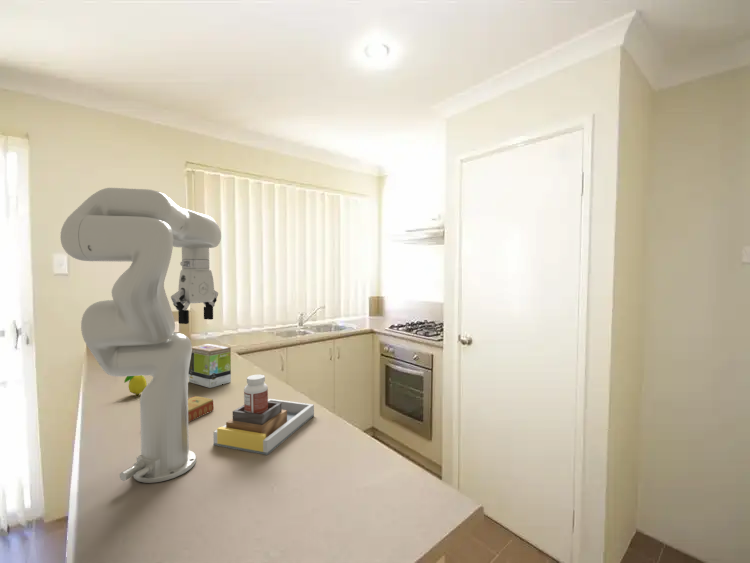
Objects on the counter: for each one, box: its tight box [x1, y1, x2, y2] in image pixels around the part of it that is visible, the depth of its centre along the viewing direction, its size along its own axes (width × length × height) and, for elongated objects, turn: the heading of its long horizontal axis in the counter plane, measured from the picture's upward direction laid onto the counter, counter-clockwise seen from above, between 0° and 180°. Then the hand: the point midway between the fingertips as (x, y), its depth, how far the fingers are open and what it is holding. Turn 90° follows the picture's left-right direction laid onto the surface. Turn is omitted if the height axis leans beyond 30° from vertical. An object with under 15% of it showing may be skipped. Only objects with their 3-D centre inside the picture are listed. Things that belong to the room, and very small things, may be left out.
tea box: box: [188, 343, 232, 389], centre depth 144 cm, size 15×10×15 cm
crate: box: [225, 401, 287, 438], centre depth 97 cm, size 12×11×8 cm
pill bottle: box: [243, 374, 269, 414], centre depth 97 cm, size 6×6×11 cm
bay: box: [213, 398, 315, 456], centre depth 102 cm, size 25×16×5 cm, turn 163°
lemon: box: [123, 375, 150, 396], centre depth 129 cm, size 7×6×10 cm
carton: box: [188, 395, 215, 423], centre depth 109 cm, size 8×16×4 cm, turn 159°
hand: (196, 321), depth 108 cm, fingers open, 9 cm apart
